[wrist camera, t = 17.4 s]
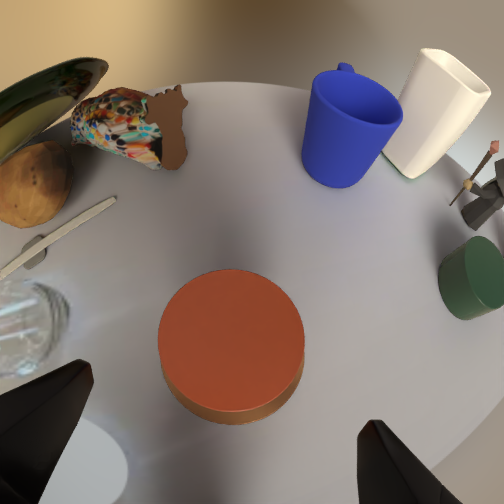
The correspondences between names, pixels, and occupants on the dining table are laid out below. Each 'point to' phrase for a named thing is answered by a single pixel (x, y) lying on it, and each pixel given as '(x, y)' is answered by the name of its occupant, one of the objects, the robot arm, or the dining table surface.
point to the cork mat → (236, 417)
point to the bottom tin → (472, 279)
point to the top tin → (231, 340)
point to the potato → (34, 184)
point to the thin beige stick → (50, 240)
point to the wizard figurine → (484, 192)
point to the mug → (347, 126)
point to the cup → (434, 111)
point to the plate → (44, 100)
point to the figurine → (134, 126)
